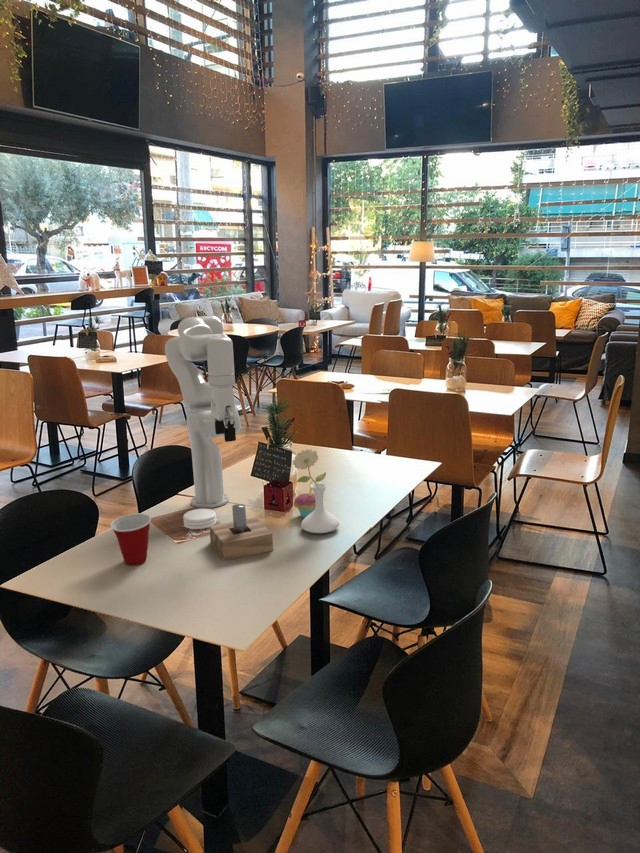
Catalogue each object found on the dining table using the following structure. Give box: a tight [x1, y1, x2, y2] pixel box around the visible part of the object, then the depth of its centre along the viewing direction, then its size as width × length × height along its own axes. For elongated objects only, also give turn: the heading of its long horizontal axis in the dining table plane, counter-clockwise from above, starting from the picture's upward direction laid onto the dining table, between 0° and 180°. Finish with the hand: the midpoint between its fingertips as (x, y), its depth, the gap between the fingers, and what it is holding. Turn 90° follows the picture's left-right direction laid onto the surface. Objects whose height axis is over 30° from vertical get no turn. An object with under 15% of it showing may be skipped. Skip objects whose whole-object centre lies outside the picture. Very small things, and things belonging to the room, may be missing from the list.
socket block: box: [209, 517, 274, 561], centre depth 198 cm, size 14×14×5 cm
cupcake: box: [293, 481, 316, 519], centre depth 218 cm, size 9×8×12 cm
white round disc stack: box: [182, 508, 217, 531], centre depth 216 cm, size 10×10×4 cm
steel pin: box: [231, 503, 247, 535], centre depth 197 cm, size 4×4×12 cm
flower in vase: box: [292, 448, 340, 534], centre depth 205 cm, size 13×11×25 cm
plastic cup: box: [110, 512, 152, 567], centre depth 189 cm, size 11×11×12 cm
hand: (225, 437), depth 207 cm, fingers open, 9 cm apart
